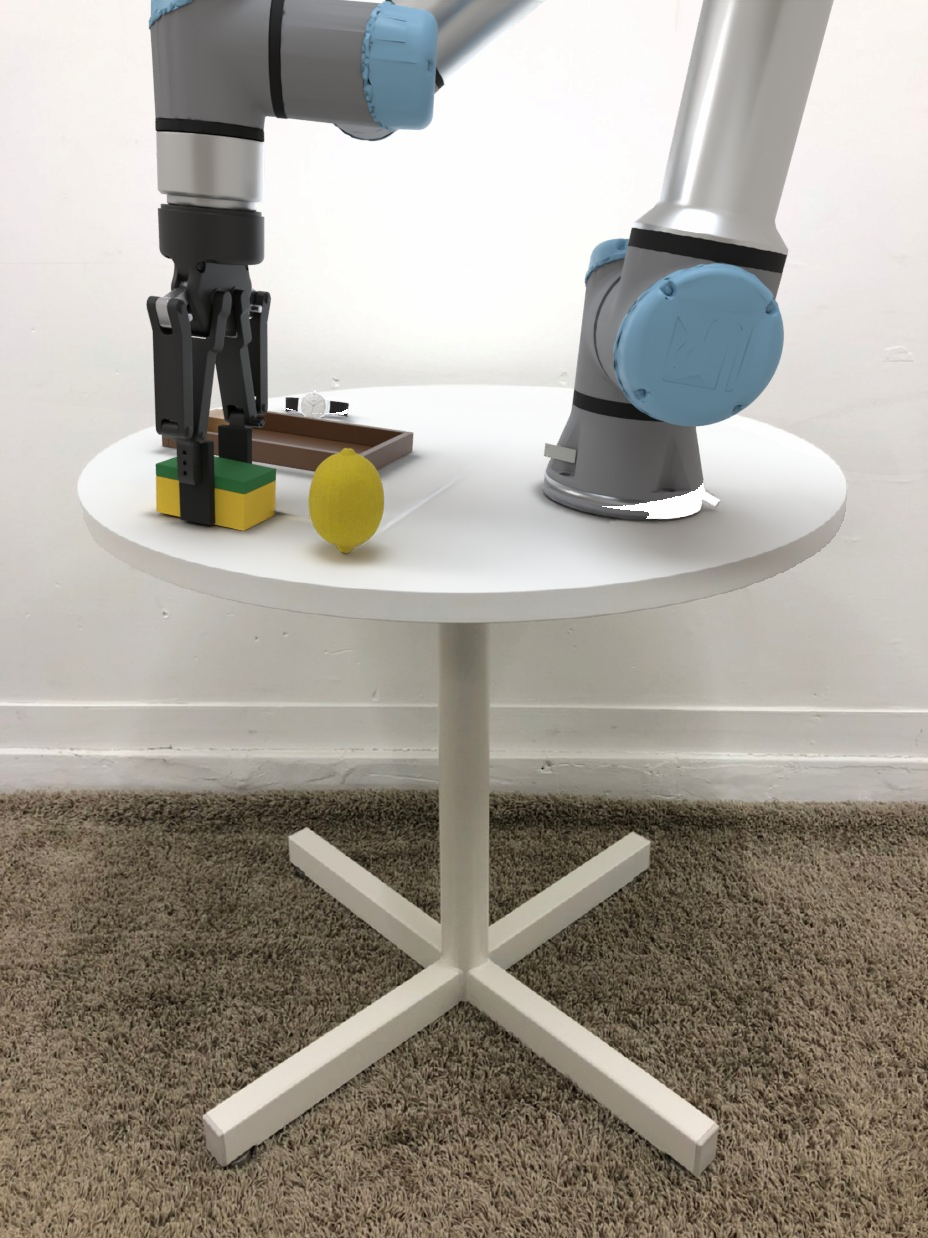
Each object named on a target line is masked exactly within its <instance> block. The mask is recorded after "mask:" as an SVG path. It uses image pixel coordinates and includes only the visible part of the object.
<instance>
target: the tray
mask: <svg viewBox="0 0 928 1238" xmlns="http://www.w3.org/2000/svg"><path fill="white" fill-rule="evenodd" d="M220 409H221V410H223V408H220ZM258 417H265V425H264V426H263V427H262V428H258V427H252V463H253V462H255V463H261V464H266V465H273V466H278V467H285V468H290V469H297V470H303V471H309V472H313V473H315V471H316V469H317V468H318V466H319V465H320V464H321V463H322V462H323V461H324V460H325V459H327V458H328V457H330V456H331V455H334V454H336V453H340V452H341V451H342V450H343V449H344V448H351V449H353V450H354V452H355V453H357V454H359V455H361V456H363V457H365V458H366V459H367V460H369V461H370V462H371V463H372V464H373V465H374V467H375V468H376V470H377V471H378V470H380V469H382V468H385V467H386V466H388V465H390V464H392V463H393V462H396V461H398V460H399V459H401V458H403V457H405V456H407V455H409V454H411V453H412V452H413V447H414V432H413V431H406V430H401V429H400V430H399V429H393V428H387V427H380V426H374V425H373V426H372V425H366V424H358V423H352V422H346V421H338V420H332V419H325V418H312V417H305V416H304V415H299V414H291V413H286V412H277V411H272V410H267V413H266V414H265V415H259V416H258ZM193 425H194V424H193ZM206 440H207V441H213V442H214V456H216V457H219V455H218V433H214V432H208V431H207V437H206ZM161 447H162V448H168V449H174V450H177V448H176V442H175V440H174V439H170V438H165V437H163V435H161Z"/></svg>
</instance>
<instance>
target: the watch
mask: <svg viewBox="0 0 928 1238" xmlns="http://www.w3.org/2000/svg"><path fill="white" fill-rule="evenodd" d="M349 407H350V403H349V402H343V401H336V400H330V399H327V398H326V397H325V396H324V395H322V394H321V393H320V392H317V389H313V391H311V392H308V393H306V394H305V395H304V396H302V397H301V396H300V397H293V396H291V397H290V396H288V397H286V396H285V412H292V411H291V410H287V409H286V408H289V409H293V410H296V411H295V412H298V411H301V412H300V413H301V414H302V416H305V417H312V418H319V419H323V418H324V417H325V416H330V414H325V413H336V412H342V411H344V410H346V409H348V410H349ZM302 412H303V413H302ZM312 413H318V414H312ZM320 413H322V414H320ZM323 414H324V415H323ZM348 415H349V412H348V413H347V414H344V415H339V416H340V417H341V416H342V417H345V418H348Z"/></svg>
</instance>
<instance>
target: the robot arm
mask: <svg viewBox="0 0 928 1238" xmlns="http://www.w3.org/2000/svg"><path fill="white" fill-rule="evenodd" d="M545 1H546V0H383V1H382V2H371V1H360V0H359V1H358V0H357V1H356V0H150V17H149V19H148V30H149V31H150V32H149V33H150V46H151V62H152V81H153V97H154V98H153V99H154V116H155V118H154V124H155V125H154V126H155V127H154V129H155V140H156V141H155V142H156V143H155V144H156V155H155V156H156V176H157V177H156V178H157V191H158V192H159V193H160V194H161V195H166V203H160V207H157V222H158V226H157V227H158V250H159V252H160V254H161V256H162V257H164V258H166V259H169V260H172V262H173V274H172V278H171V283H170V291H169V292H167V293H166V294H165V295H164V296H158V295H150V296H148V297H147V298H146V299H147V300H146V311H147V314H148V315H147V316H148V319H149V323H150V326H151V330H152V332H151V333H152V353H153V354H152V358H153V359H152V360H153V361H152V362H153V387H154V415H155V416H154V419H155V421H154V422H155V432H156V433H157V434H158V435H159V436H162V435H163V437H165V438H170V439H174V440H175V442H176V448H177V449H176V457H177V463H178V464H177V468H178V469H177V476H178V480H179V497H180V517H179V520H180V521H186V522H191V523H196V524H201V525H206V526H212V525H215V524H214V523H215V480H214V456H215V455H214V442H213V441H207V440H206V437H207V429H208V420H209V412H210V410H211V403H212V393H213V386H214V378H215V377H214V376H215V370H216V378H217V383H218V388H219V394H220V402H221V407H222V408H221V409H223V414H224V419H225V421H226V422H227V423H229V425H224V424H222V425H219V426H218V455H219V456H218V457H220V458H225V459H230V460H235V461H240V462H245V463H250V464H253V461H252V427H258V428H262V427H263V426H264V425H265V417H258V416H259V415H265V414H266V413H267V411H269V410H268V409H269V377H268V376H269V363H268V362H269V360H268V359H269V356H268V355H269V354H268V347H269V346H268V345H269V344H268V343H269V342H268V341H269V340H268V338H269V337H268V322H269V315H270V309H271V302H272V297H271V296H272V295H271V293H270V292H269V291H264V290H256V289H254V288H253V284H252V279H251V276H250V268H249V266H256V265H260V264H261V263H263V262H264V260H265V216H263V215H262V214H263V213H262V212H261V211H258V203H263V202H264V201H265V200H266V189H265V188H266V187H265V186H266V185H265V184H266V183H265V181H266V180H265V177H266V176H265V121H266V117H270V118H276V119H283V120H289V119H291V120H297V121H298V120H299V121H308V122H314V123H324V124H332V125H333V126H334V127H336V128H338V130H340V131H341V132H342V133H343V134H344V135H346V136H348V137H350V138H351V139H355V140H359V141H368V142H377V141H382V140H385V139H387V138H389V137H390V136H392V135H393V134H395V133H396V132H398V131H399V130H406V131H407V130H408V131H422V130H424V129H426V128H427V127H429V126H430V124H431V123H432V121H433V117H434V104H435V95H436V94H437V92H439V91H440V89H441V88H443V87H444V86H445V85H446V84H447V83H449V82H450V81H451V80H452V79H453V78H454V77H455V76H457V75H458V74H460V72H461V71H463V70H464V69H465V68H466V67H468V66H469V65H470V64H471V63H473V62H474V61H475V60H476V59H477V58H478V57H479V56H481V55H482V54H483V53H484V52H485V51H487V50H488V49H489V48H490V47H491V46H493V45H494V44H495V43H496V42H497V41H499V40H500V39H501V38H502V37H504V36H505V35H506V34H507V33H509V31H510V30H512V29H513V28H514V27H515V26H517V25H518V24H519V23H520V22H521V21H522V20H524V19H525V18H526V17H528V15H530V14H531V13H532V12H533V11H535V10H536V9H537V8H538V7H539V6H540V5H542V4H543V3H544V2H545ZM834 1H835V0H702V4H701V9H700V13H699V17H698V21H697V26H696V31H695V36H694V40H693V43H692V50H691V53H690V58H689V62H688V67H687V72H686V76H685V81H684V85H683V89H682V94H681V97H680V98H681V99H680V102H679V107H678V112H677V116H676V120H675V125H674V130H673V134H672V139H671V142H670V147H669V152H668V156H667V161H666V166H665V170H664V175H663V178H662V183H661V186H660V187H661V188H660V192H659V196H658V201H657V202H656V203H655V205H654V206H653V207H652V208H651V209H650V210H648V211H647V212H646V213H644V214H643V215H641V216H640V217H639V218H637V219H636V220H634V222H632V224H631V229H630V234H629V238H621V237H619V238H612V239H607V240H605V241H601V242H600V243H598V244H597V245H596V246H595V247H594V248H593V250H592V251H591V254H590V257H589V264H588V269H587V270H586V273H585V274H584V275H585V277H584V287H585V293H584V300H583V301H584V302H583V310H582V311H583V312H582V319H581V327H580V335H579V343H578V353H577V359H576V360H577V361H576V370H575V376H574V377H575V378H574V387H573V396H572V404H571V410H570V414H569V417H568V419H567V420H566V422H565V426H564V428H563V430H562V432H561V435H560V437H559V439H558V441H557V443H556V444H551V443H547V442H545V443H544V450H543V457H547V458H550V460H549V461H548V464H547V466H546V468H545V470H544V478H543V489H542V491H543V493H544V494H545V495H546V496H547V497H548V498H550V500H553V501H554V502H556V503H558V504H561V505H563V506H565V507H568V508H571V509H573V510H577V511H581V512H585V513H589V514H594V515H599V516H605V517H609V518H618V519H626V520H638V521H640V520H641V521H648V520H647V519H646V518H647V516H649V513H648V512H644V511H630V510H620V509H613V508H607V507H602V506H623V505H625V506H626V505H635V504H639V503H647V502H650V501H657V500H663V499H667V498H672V497H675V496H681V495H684V494H687V493H689V492H691V491H695V490H696V489H698V487H700V485H702V483H703V480H704V474H703V473H704V472H703V468H702V467H703V466H702V460H701V453H700V446H699V439H698V433H697V427H705V426H711V425H714V424H718V423H720V422H721V423H722V422H723V421H726V420H728V419H730V418H732V417H734V416H735V415H737V414H739V413H740V412H742V411H743V410H745V409H747V408H748V407H749V406H750V405H752V404H753V403H754V402H755V401H756V400H757V399H758V398H759V397H760V396H761V395H762V393H764V391H765V390H766V388H767V387H768V386H769V384H770V382H771V381H772V380H773V378H774V375H775V374H776V371H777V370H778V366H779V364H780V361H781V359H782V354H783V349H784V344H785V343H784V341H785V329H784V328H785V327H784V320H783V317H782V313H781V309H780V306H779V303H778V302H777V295H778V291H779V288H780V285H781V281H782V277H783V272H784V269H785V266H786V261H787V258H788V255H789V248H788V246H787V245H786V242H785V241H784V239H783V238H782V236H781V233H780V232H779V230H778V229H777V224H776V218H777V215H778V210H779V207H780V203H781V199H782V196H783V192H784V188H785V185H786V182H787V181H786V180H787V176H788V173H789V169H790V166H791V162H792V158H793V154H794V151H795V147H796V143H797V139H798V136H799V132H800V129H801V123H802V121H803V116H804V113H805V109H806V106H807V102H808V98H809V95H810V91H811V87H812V84H813V79H814V76H815V72H816V68H817V65H818V61H819V57H820V53H821V49H822V46H823V42H824V38H825V35H826V31H827V27H828V23H829V20H830V16H831V12H832V8H833V4H834ZM193 424H194V425H193Z"/></svg>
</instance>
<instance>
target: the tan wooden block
mask: <svg viewBox="0 0 928 1238" xmlns="http://www.w3.org/2000/svg"><path fill="white" fill-rule="evenodd" d="M221 409H222V408H220V409H219V408H214V409H210V412H209V420H208V429H207V431H208V432H214V433H218V426H219V425H222V424H224V425H229V423H227V422H226V421H225V419H224V414H223V410H221Z"/></svg>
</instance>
